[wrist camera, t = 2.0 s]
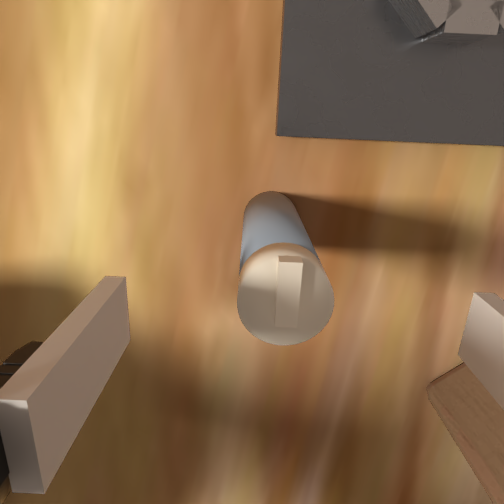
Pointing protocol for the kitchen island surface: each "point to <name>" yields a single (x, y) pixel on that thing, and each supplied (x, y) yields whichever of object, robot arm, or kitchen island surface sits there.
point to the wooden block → (473, 425)
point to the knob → (280, 274)
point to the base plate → (392, 70)
